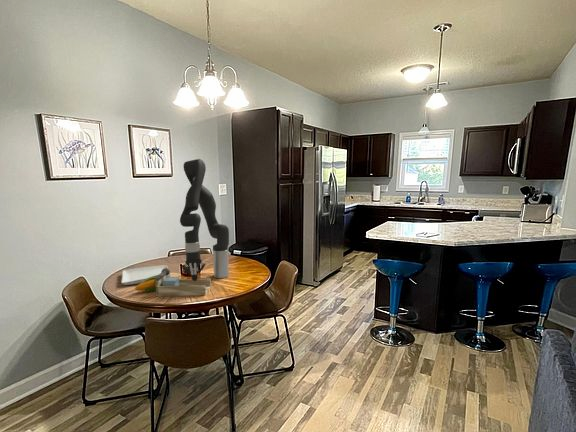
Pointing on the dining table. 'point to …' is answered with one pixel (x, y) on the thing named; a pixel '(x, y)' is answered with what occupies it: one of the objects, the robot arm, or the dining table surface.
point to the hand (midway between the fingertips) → (195, 280)
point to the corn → (147, 285)
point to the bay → (181, 286)
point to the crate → (171, 281)
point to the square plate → (141, 274)
